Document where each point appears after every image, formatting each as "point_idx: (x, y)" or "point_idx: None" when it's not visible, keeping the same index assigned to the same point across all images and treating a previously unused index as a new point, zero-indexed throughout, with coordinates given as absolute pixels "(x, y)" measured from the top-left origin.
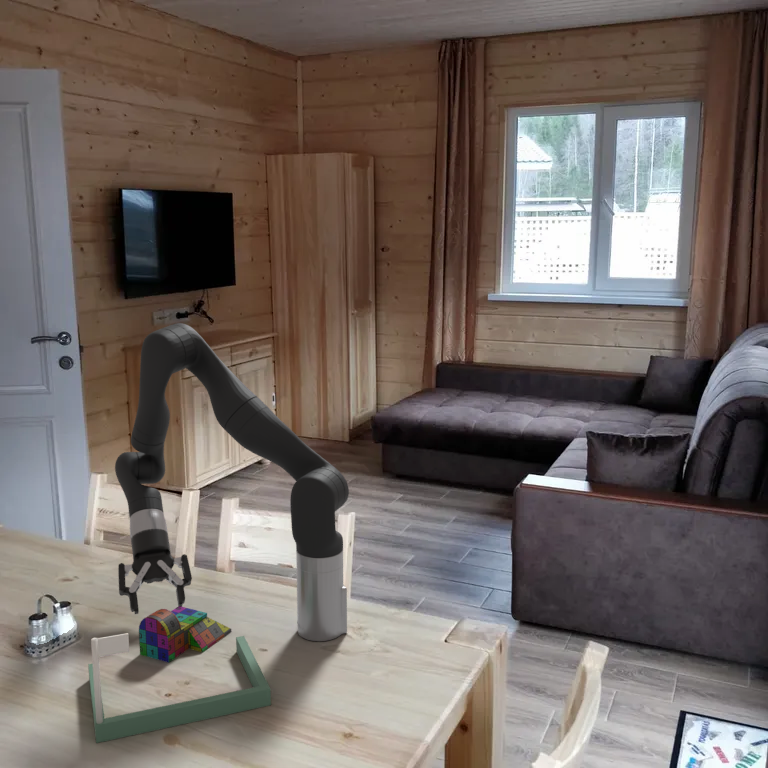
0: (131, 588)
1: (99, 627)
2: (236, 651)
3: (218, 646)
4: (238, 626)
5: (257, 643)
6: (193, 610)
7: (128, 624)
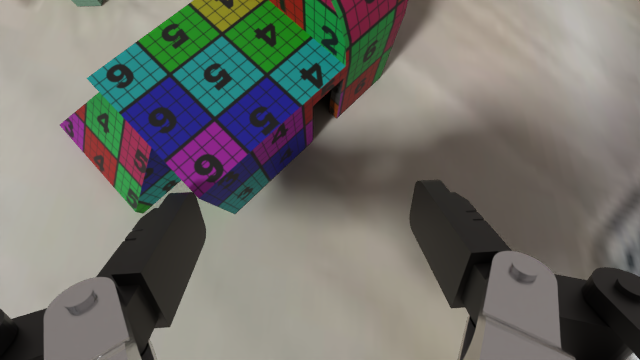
0: (538, 280)
1: None
2: (100, 4)
3: None
4: (31, 160)
5: (23, 32)
6: (140, 124)
7: (427, 315)
